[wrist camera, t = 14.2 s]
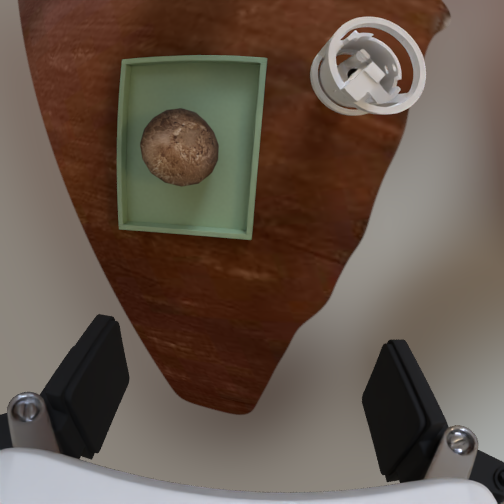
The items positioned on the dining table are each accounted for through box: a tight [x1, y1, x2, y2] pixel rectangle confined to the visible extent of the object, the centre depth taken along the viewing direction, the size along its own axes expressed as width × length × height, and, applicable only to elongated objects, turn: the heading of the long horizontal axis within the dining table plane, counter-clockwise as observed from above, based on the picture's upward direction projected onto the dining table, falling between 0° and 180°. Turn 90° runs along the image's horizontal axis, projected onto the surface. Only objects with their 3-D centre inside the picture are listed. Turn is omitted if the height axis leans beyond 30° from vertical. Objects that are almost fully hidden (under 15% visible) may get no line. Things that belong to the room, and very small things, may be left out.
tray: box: [117, 55, 267, 240], centre depth 32 cm, size 19×15×2 cm
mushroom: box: [140, 108, 219, 187], centre depth 30 cm, size 8×8×6 cm
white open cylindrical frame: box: [310, 17, 426, 115], centre depth 23 cm, size 7×7×15 cm
